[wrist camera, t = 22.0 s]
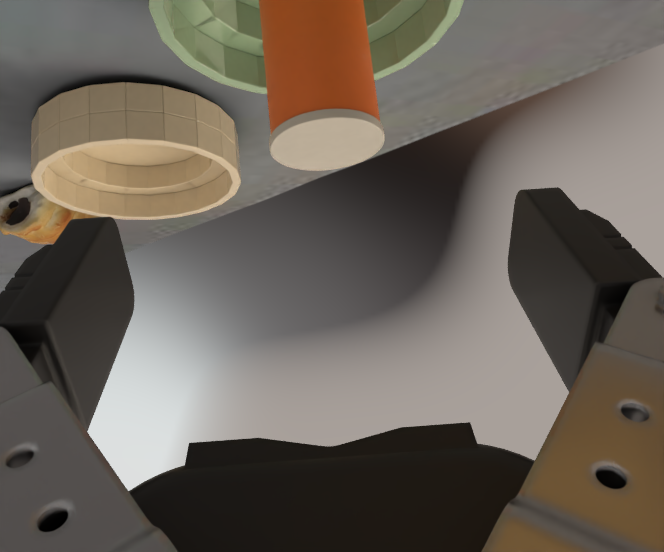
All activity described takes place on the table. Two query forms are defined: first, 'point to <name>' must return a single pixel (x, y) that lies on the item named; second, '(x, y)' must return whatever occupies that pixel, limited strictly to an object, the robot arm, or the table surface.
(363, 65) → the cracker tube
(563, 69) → the table surface
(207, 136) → the oatmeal bowl
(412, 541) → the robot arm
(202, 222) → the table surface
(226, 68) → the sage bowl
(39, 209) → the pastry
